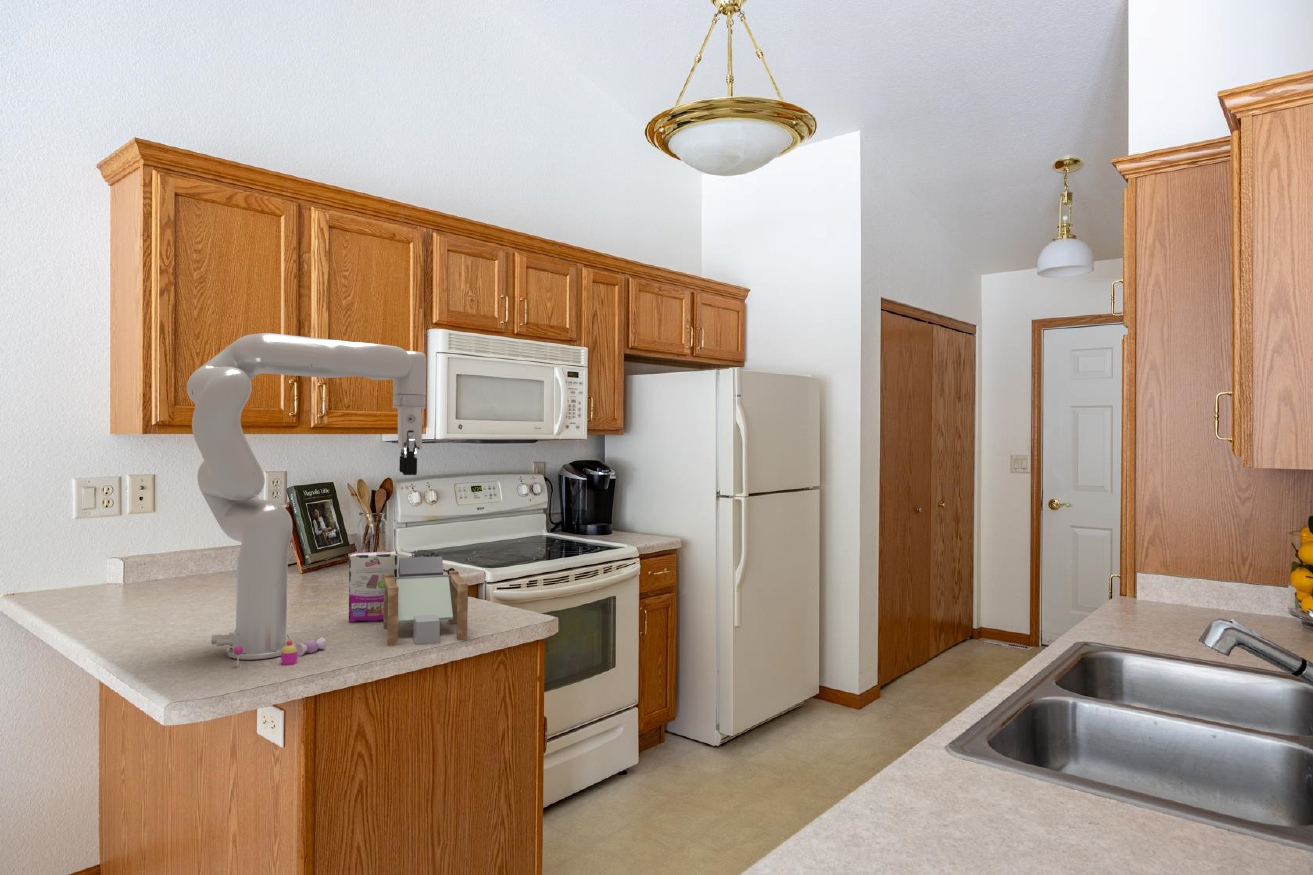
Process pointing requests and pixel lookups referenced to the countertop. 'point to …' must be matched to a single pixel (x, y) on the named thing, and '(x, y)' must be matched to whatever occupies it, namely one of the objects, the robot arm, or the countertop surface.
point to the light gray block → (426, 629)
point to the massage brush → (429, 556)
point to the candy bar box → (369, 584)
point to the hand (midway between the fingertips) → (407, 473)
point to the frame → (457, 600)
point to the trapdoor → (423, 589)
